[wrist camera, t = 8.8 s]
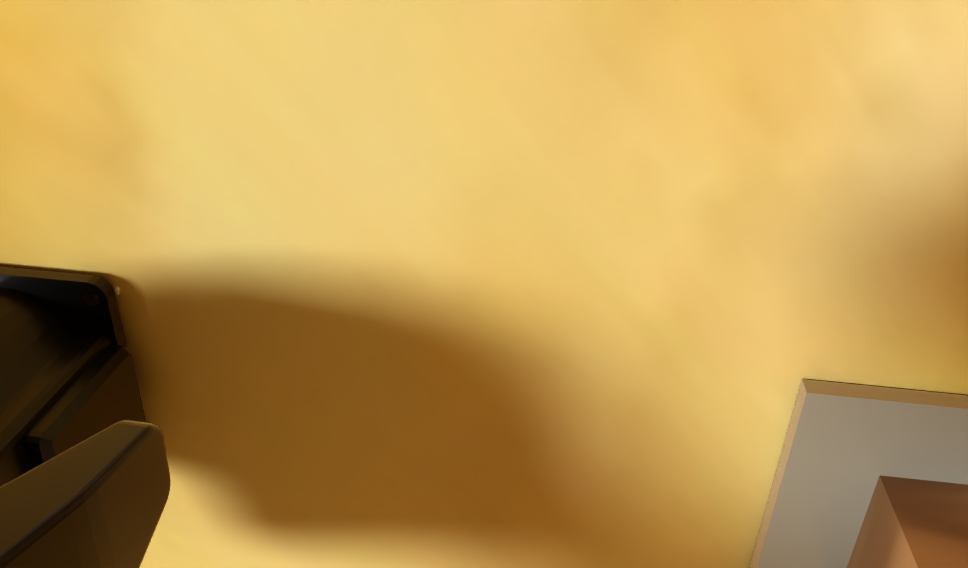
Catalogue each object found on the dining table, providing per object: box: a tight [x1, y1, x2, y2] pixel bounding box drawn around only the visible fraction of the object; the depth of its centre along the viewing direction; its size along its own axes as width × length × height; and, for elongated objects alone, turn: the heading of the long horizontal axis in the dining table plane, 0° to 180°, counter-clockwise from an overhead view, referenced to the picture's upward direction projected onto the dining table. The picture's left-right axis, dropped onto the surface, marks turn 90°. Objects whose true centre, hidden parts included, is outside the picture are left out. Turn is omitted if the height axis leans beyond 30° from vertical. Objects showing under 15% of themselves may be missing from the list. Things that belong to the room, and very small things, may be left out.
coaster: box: [749, 379, 968, 568], centre depth 23 cm, size 10×10×1 cm
